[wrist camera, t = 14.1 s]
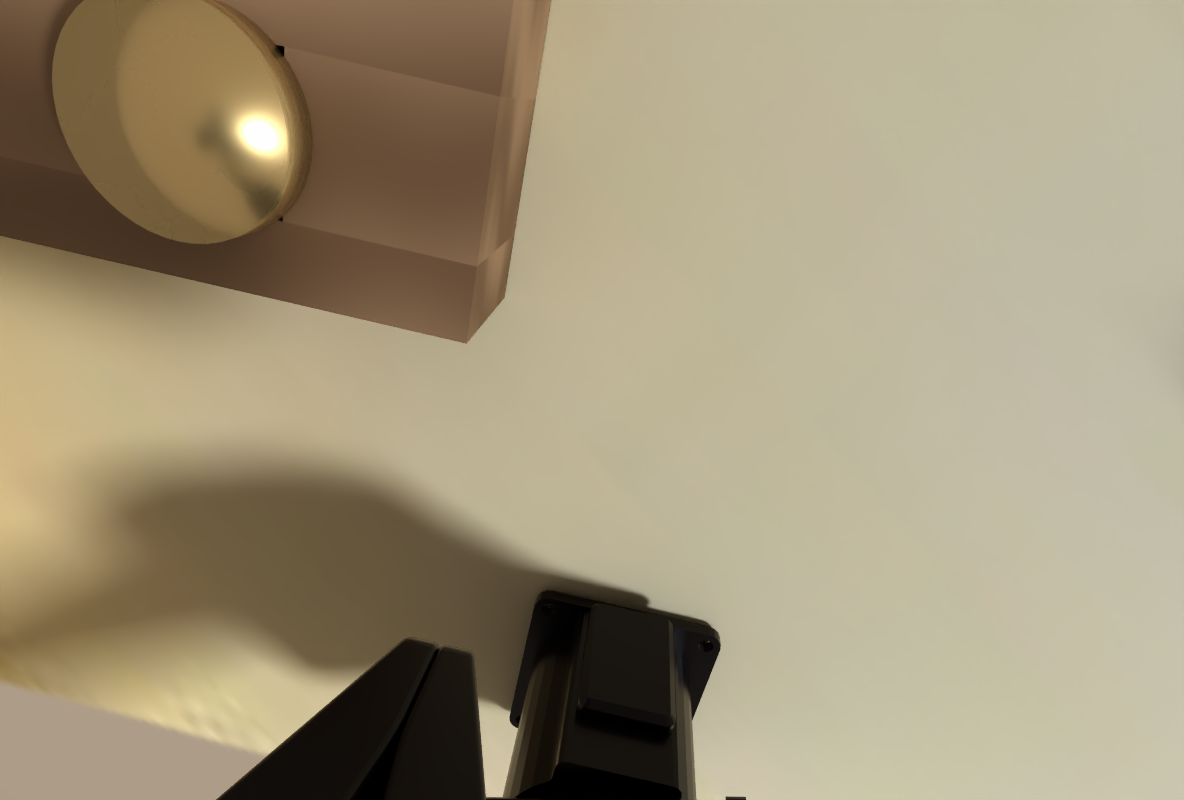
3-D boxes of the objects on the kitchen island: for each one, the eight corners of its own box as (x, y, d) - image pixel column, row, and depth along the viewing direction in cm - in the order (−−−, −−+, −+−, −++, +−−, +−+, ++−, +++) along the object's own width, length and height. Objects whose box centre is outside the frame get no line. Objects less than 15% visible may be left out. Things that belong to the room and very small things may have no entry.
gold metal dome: (377, 227, 18) (286, 266, 13) (213, 189, 18) (68, 215, 13) (391, 40, 16) (289, 13, 11) (206, -4, 16) (35, -46, 11)
